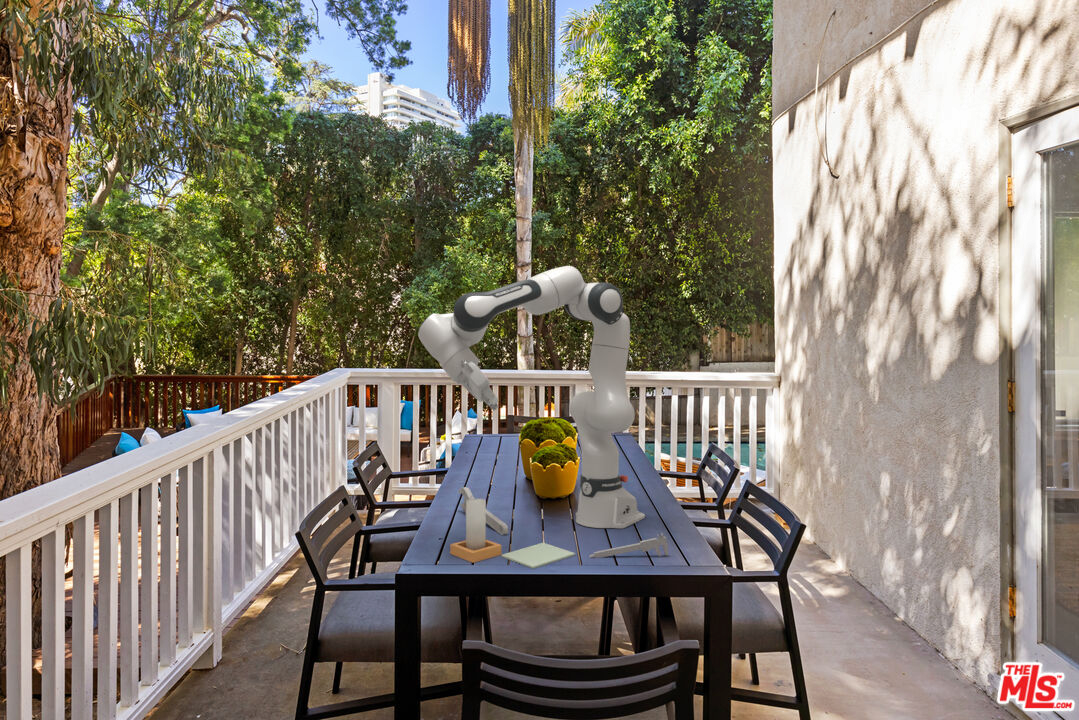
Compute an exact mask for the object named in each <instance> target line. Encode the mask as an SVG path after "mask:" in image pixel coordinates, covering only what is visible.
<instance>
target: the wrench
mask: <svg viewBox="0 0 1079 720" xmlns="http://www.w3.org/2000/svg"><path fill="white" fill-rule="evenodd" d="M459 494H462V496H463V501H464V502H462V503H460V507H461V508H462V510H463V511H464V513H465V514H466V501H467V500H469V499H476V498H475V497H474V496H473V493H472V492H471V489H470V487H468V486H465V487H460V488H459V490H458V495H459ZM486 524H487V525H488V526H489V527H491V528H492V529H493V530H494V531H496V533H498V534H499V533H500V535H501V536H504V535H508V534H509V526H508V525H507V524H506V523H505V522H504V521H503V520H501V519H500V518H498V517H497V516H496V515H495V514H494V513H492V512H490V511H489V510H487V509H486Z"/></svg>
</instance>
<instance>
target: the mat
mask: <svg viewBox="0 0 1079 720" xmlns="http://www.w3.org/2000/svg"><path fill="white" fill-rule="evenodd" d="M500 556H501V557H500V558H503V559H506V560H508V561H512V562H514V563H516V562H517V563H516V564H519V563H520V565H522V566H525V567H527V568H530V569H532V570H533V569H534V570H535V569H537V568H540V567H543V566H547V565H549V564H551V563H555V562H559V561H561V560H564V559H568V558H571V557H574V556H576V553H575V552H572V551H570V550H566V549H564V548H560V547H557V546H555V545H552V544H548V543H546V542H540V543H537V544H533V545H530V546H527V547H524V548H520V549H517V550H513V551H510V552H507V553H504V554H503V553H501V555H500Z"/></svg>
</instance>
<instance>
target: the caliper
mask: <svg viewBox="0 0 1079 720" xmlns="http://www.w3.org/2000/svg"><path fill="white" fill-rule="evenodd" d="M656 535H657V537H652V538H648V539H645V540H640V541H639V542H638V543H637V542H636V543H632V544H627V545H624V546H623V545H622V546H618V547H614V548H613V547H612V548H608V549H603V550H598V551H593V554H590V555H589V556H588V557H589V558H590V559H591V558H595V559H599V558H600V559H601V558H607V557H609V556H616V555H620V554H626V553H630V552H636V551H639V550H641V552H642V553H644V552H649V551H651V550H652V549H654V551H655V552H656V554H657V556H658V557H659V556H661V557H662V555H661V554H662V553H661V550H660V548H661V547H660V546H662V548H663V552H664V556H665V555H666V556H665V557H668V554H669V543H668V539H667V537H666V536H664V533H663V532H661V534H659V533H657V534H656Z"/></svg>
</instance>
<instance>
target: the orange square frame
mask: <svg viewBox="0 0 1079 720" xmlns="http://www.w3.org/2000/svg"><path fill="white" fill-rule="evenodd" d="M449 546H450V547H449V548H450V549H449V555H453V556H455V557H458V558H459V559H463V560H464V561H468V562H470V563H473V564H474V563H478V562H480V561H484V560H487V559H488V560H489V559H491V558H495V557H498V556H501V555H502V544H499V543H497V542H494V541H491V540H488V539H486V546H485V548H482V549H479V550H475V551H473V550H470V549H467V548H466V539H465V540H462V541H457V542H454V543H451V544H449Z"/></svg>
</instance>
